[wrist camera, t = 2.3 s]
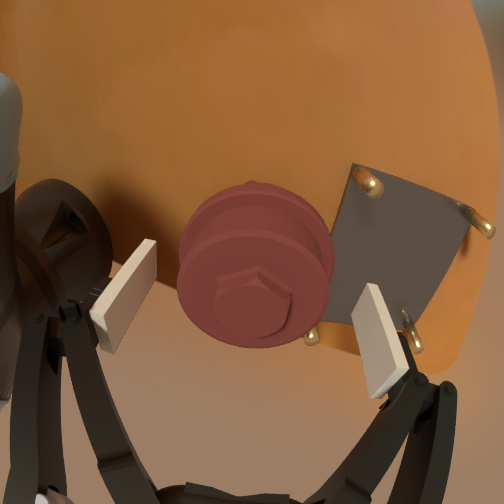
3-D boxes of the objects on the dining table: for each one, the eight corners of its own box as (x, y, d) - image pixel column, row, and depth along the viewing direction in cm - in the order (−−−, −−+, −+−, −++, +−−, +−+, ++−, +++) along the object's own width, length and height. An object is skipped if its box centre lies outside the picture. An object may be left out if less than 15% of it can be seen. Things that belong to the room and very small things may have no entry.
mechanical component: (340, 211, 24) (267, 280, 28) (252, 135, 21) (185, 221, 25) (385, 304, 13) (261, 386, 17) (229, 174, 10) (129, 313, 15)
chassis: (300, 314, 30) (302, 344, 26) (352, 162, 21) (369, 177, 17) (409, 327, 30) (420, 354, 27) (473, 208, 22) (497, 227, 18)
